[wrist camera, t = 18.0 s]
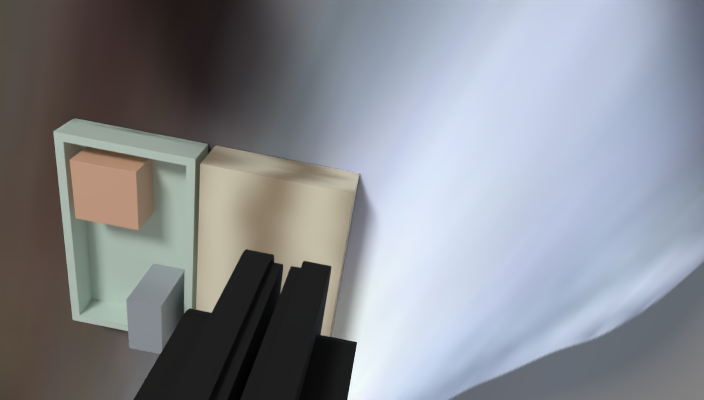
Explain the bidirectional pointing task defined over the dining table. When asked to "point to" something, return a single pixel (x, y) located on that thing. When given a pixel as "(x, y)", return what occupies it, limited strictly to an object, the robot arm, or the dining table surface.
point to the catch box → (124, 243)
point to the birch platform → (271, 219)
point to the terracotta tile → (112, 187)
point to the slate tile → (155, 308)
